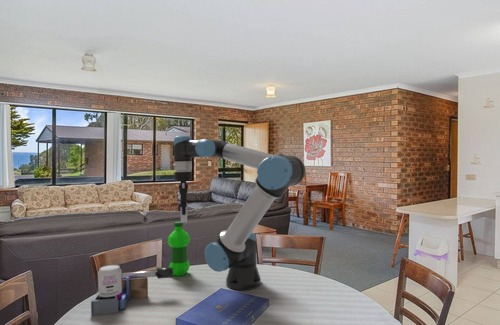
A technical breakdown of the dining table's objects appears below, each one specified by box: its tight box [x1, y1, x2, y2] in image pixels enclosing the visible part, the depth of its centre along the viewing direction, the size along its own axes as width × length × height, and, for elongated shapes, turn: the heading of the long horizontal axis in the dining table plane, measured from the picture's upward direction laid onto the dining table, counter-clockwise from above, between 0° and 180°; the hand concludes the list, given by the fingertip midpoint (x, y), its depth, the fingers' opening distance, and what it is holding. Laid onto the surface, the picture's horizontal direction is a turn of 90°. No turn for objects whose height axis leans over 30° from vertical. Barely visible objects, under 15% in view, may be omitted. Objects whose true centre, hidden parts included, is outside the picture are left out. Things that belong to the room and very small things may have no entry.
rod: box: [119, 267, 174, 310], centre depth 134 cm, size 22×13×11 cm, turn 100°
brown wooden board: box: [122, 277, 149, 300], centre depth 137 cm, size 14×1×8 cm, turn 100°
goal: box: [90, 287, 124, 316], centre depth 129 cm, size 9×12×5 cm
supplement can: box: [97, 264, 123, 309], centre depth 129 cm, size 8×8×15 cm
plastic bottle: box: [167, 221, 191, 277], centre depth 165 cm, size 10×10×25 cm
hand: (184, 219), depth 151 cm, fingers open, 13 cm apart
